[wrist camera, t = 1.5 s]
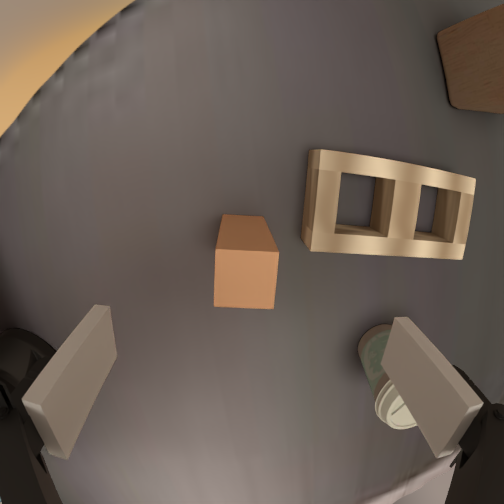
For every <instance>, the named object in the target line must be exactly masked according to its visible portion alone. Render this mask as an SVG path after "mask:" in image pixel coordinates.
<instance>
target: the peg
mask: <svg viewBox="0 0 504 504" xmlns="http://www.w3.org/2000/svg"><path fill="white" fill-rule="evenodd" d="M278 260H279V251H278V248H277V246H276V244H275V242H274V239H273V237H272V235H271V233H270V230H269V228H268V226H267V224H266V222H265V219H264V217H263V216H246V215H227V214H223V216H222V220H221V225H220V230H219V235H218V239H217V244H216V250H215V280H214V307H234V308H258V309H273V308H274V299H275V289H276V280H277V270H278Z"/></svg>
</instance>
